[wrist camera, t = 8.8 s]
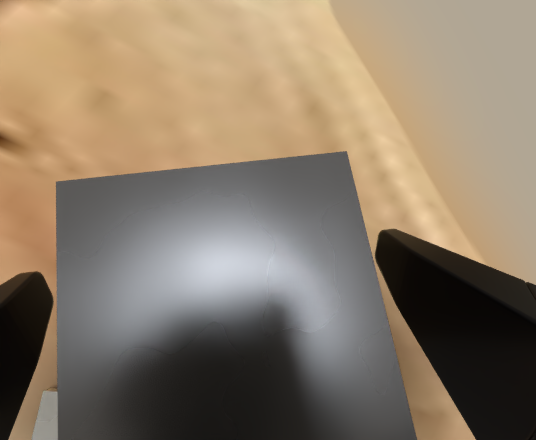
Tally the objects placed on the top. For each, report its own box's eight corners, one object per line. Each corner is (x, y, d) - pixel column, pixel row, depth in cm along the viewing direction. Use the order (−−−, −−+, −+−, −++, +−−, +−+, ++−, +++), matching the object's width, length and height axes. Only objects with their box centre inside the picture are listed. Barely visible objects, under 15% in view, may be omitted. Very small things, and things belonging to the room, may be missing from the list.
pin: (284, 350, 16) (421, 456, 5) (187, 369, 16) (58, 550, 4) (269, 256, 17) (346, 151, 6) (178, 270, 17) (55, 181, 5)
